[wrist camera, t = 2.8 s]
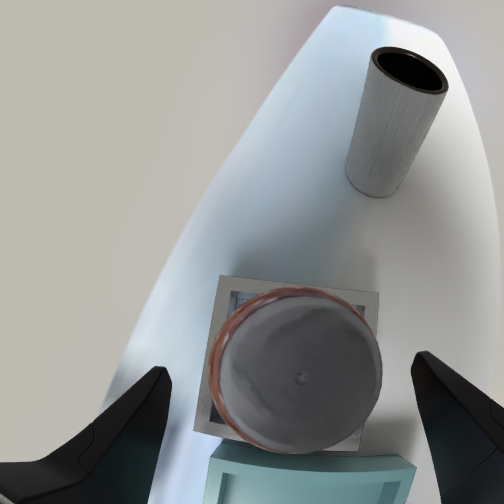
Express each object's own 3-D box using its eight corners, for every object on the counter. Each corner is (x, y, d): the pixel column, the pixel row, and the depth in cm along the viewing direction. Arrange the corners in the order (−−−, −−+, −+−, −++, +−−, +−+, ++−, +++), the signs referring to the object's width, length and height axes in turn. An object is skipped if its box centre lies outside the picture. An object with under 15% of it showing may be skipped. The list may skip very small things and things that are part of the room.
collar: (349, 441, 14) (358, 450, 12) (203, 423, 16) (193, 430, 14) (368, 300, 18) (378, 292, 16) (226, 284, 19) (219, 274, 17)
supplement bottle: (299, 430, 15) (321, 523, 5) (220, 376, 17) (132, 397, 6) (355, 351, 17) (454, 334, 6) (276, 299, 18) (269, 215, 8)
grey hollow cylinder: (405, 198, 20) (462, 99, 10) (350, 199, 20) (388, 87, 11) (390, 151, 21) (428, 52, 12) (339, 151, 22) (360, 41, 12)
